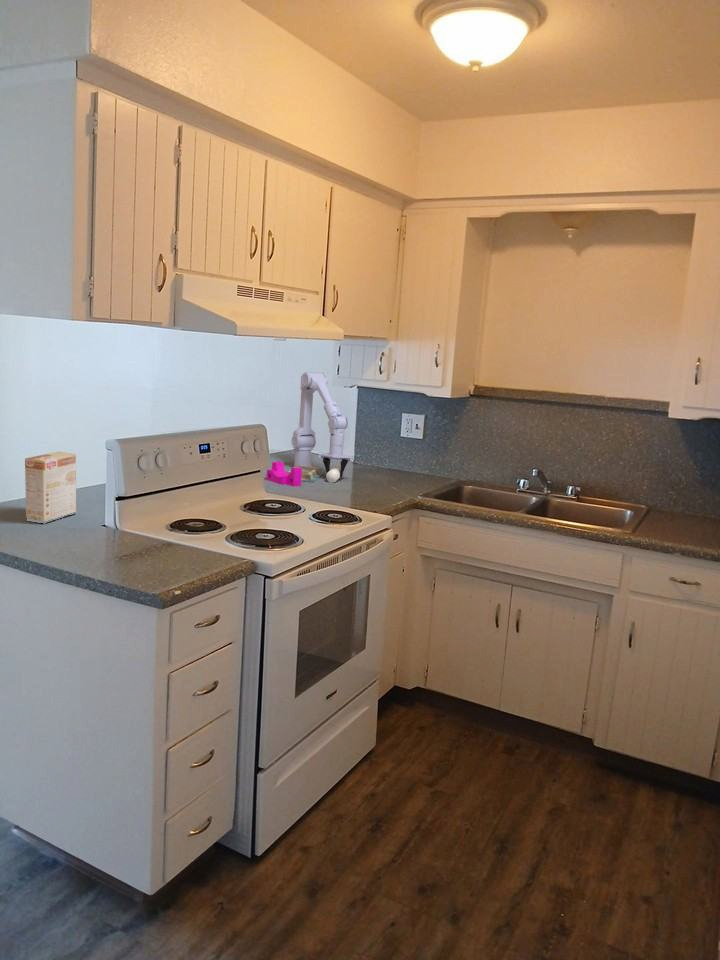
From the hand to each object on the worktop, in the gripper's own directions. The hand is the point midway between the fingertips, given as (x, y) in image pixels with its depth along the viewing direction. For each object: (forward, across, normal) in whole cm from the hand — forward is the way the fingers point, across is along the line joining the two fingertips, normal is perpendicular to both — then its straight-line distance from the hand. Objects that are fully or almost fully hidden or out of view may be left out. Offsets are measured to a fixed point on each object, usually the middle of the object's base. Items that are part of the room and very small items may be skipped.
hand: (334, 476), depth 326 cm
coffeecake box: (+2, -69, -102) cm, 123 cm away
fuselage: (+2, 0, 0) cm, 2 cm away
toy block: (+2, -18, -16) cm, 24 cm away
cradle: (+2, -14, 0) cm, 14 cm away
